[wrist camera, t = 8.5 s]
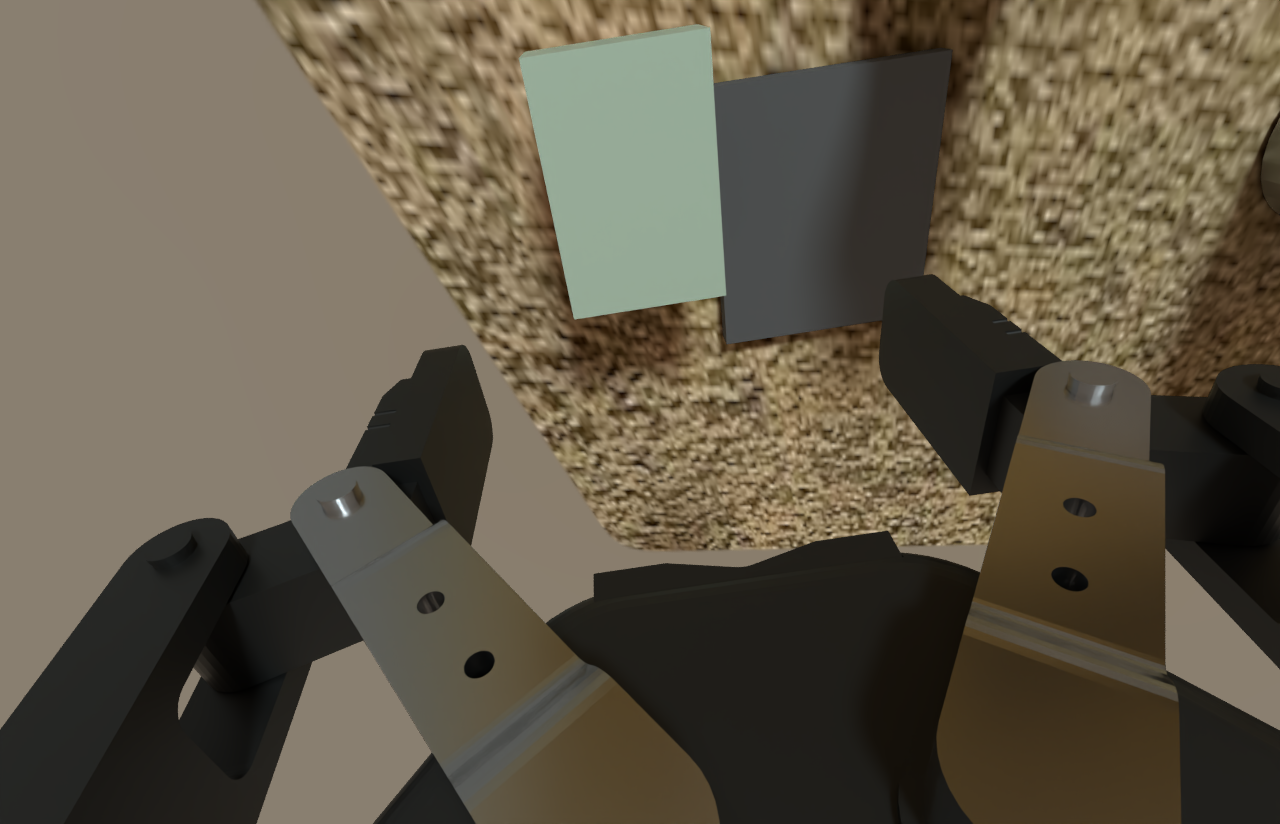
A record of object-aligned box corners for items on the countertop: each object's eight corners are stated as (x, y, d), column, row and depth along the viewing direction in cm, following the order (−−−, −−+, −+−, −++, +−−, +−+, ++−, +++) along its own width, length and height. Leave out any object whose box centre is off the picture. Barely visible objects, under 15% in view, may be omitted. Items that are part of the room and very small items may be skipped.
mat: (941, 47, 27) (952, 49, 26) (909, 306, 33) (918, 314, 33) (707, 84, 27) (711, 87, 26) (722, 335, 33) (726, 344, 33)
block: (697, 24, 22) (710, 27, 20) (714, 271, 27) (726, 295, 25) (524, 52, 22) (518, 58, 20) (574, 294, 27) (574, 319, 25)
